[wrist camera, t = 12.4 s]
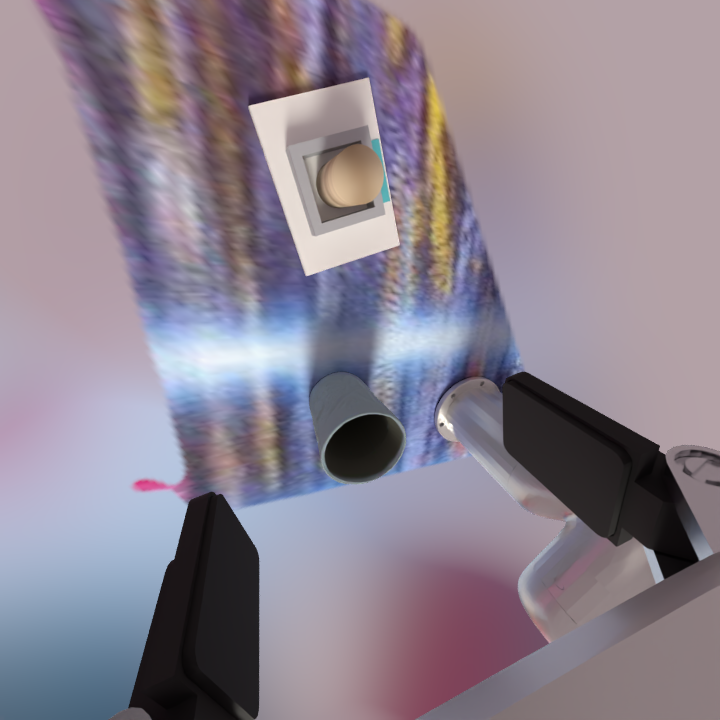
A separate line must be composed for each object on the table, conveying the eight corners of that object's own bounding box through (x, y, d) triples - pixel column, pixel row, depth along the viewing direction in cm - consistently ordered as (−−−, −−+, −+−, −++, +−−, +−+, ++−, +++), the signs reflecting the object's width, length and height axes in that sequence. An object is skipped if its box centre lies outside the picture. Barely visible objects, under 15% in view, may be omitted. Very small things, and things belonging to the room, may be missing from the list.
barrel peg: (349, 155, 32) (376, 137, 25) (360, 201, 34) (388, 196, 27) (310, 167, 32) (327, 152, 25) (323, 213, 34) (343, 211, 27)
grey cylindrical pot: (292, 386, 42) (306, 441, 32) (358, 353, 43) (392, 396, 33) (322, 437, 47) (342, 499, 36) (380, 406, 48) (416, 458, 38)
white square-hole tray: (365, 81, 31) (377, 66, 28) (396, 244, 39) (408, 246, 35) (248, 109, 29) (248, 96, 26) (305, 274, 37) (310, 279, 34)
